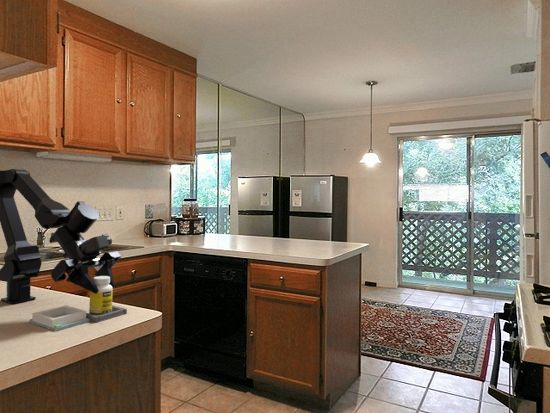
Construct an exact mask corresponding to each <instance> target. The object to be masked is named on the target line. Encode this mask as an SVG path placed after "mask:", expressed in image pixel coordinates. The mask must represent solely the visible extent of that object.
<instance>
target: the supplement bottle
mask: <svg viewBox="0 0 550 413" xmlns="http://www.w3.org/2000/svg"><path fill="white" fill-rule="evenodd" d="M92 280H93V281H94V283H95V284H96V286H97V288H98V290H99V292H98V293H97V294H95V293H93V292H91V291H89V309H88V311H89V312H88V313H89V314H93V315H96V316H99V315H103V314H106V313H110V312H113V311H112V305H113V294H114V293H113V292H114V291H113V290H114V288H113V287H112V286H111V285H109V283H110V277H109V276H94V277H93V278H92Z"/></svg>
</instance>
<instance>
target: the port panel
mask: <svg viewBox="0 0 550 413" xmlns="http://www.w3.org/2000/svg"><path fill="white" fill-rule="evenodd" d="M86 313H87V310H84V309H80V308H77V307H74V306H70V305H66V304H65V305H60V306H57V307H53V308H48V309H45V310H40V311H37V312H36V311H35V312H32V313H31V314H32V316H31V317H32V318H30V319H29V320H28V322H29V323H31V324H34V325H37V326H39V327H42V328H45V329H48V330H50V331H54V332H58V331H61V330H64V329H65V330H66V329H68V328H71V327H75V326H79V325H82V324H86V323H88V322H90V320H89V319H87V318H86Z"/></svg>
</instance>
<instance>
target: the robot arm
mask: <svg viewBox="0 0 550 413" xmlns="http://www.w3.org/2000/svg"><path fill="white" fill-rule="evenodd" d="M17 191H18V192H19V193H20V195H22V196H23V198H24V199H25V201H27V202H28V203H29V205H30V206H31V208H32V209H34V218H35V219H36V221H37V222H38V224H39V226H40V227H41V228H42V229H46V230H50V229H55V231H54V232H51V233H50V237H49V239H48V240H49V244H55V243H58V244H59V246H60V247H61V249H62V250H63V255H62V257H63V258H64V259H60V260H59V262H58V263H57V264H56V265H55V266H54V268H52V270H50V271H51V272H50V277H51V278H52V280H53V281H54V283H57V282H63V281H66V282H67V283H72V284H74V285H76V286H79V287H81V288H83V289H84V290H87V291H89V292H90V291H91V292H93V293H95V294H97V293H98V292H99V290H98V288H97V286H96V284H95V283H94V281H93V278H92V277H91V275H90V274H89V269H91V268H94V269H95V270H96V271H97V272H95V274H94V275H95V277H97V276H109V277H110V283H109V285H111V286H112V287H113V289H115V287H116V284H115V279H114V276H113V270H112V268H114V266H115V265H116V264H117V262H118V261H119V260H120V259H122V255H121V254H120V253H119V251H117V250H112V251H111V250H110V251H105V252H104V253H103V254H102V252H101V251H103V250H105V249H108V248H110V247H111V245H112V243H113V241H112V240H113V239H112V238H111V237H110V235H109V234H108V233H102V234H101V235H99V236H98V235H97V236H94V237H91V238H89V239H85V238H84V237H83V235H82V234H85V233H87V232H88V231H89V230H90V229H91V227H92V226H93V225H94V223H96V221H97V220H99V217H100V214H99V213H100V212H99V210H98V209H96V208H95V207H93V206H91V205H90V204H87V203H86V202H85V201H83V200H82V201H80V200H78V201H76V203H75V204H74V206H73V208H72V209H71V210H70V209H69V208H68V207H67V206H65V205H64V204H62V203H61V202H58V201H56V200H54V199H53V198H51V197H50V196H49V195H48V193H46V192H45V191H44V189H43V188H42V187H41V186H40V185H39V184H38V183H37V181H35V180H34V179H33V177H32V176H31V173H30V172H29V170H27V169H19V168H18V169H17V168H10V169H6V170H0V226H1V227H0V228H1V229H2V234H3V236H4V240H5V243H6V246H7V249H6V251H5V253H4V256H3V261H4V265H3V266H2V267H1V268H0V282H4V283H5V282H6V297H2V298H0V301H2V302H4V303H9V304H11V305H13V304H17V303H23V302H28V301H33V300H36V299H37V298H36V296H32V295H31V279H32V278H38V276H39V273H40V270H41V267H42V258H43V257H42V255H41V253H40V250H39V247H38V245H37V244H35V245H34V244H33V245H32V244H31V243H29V240H28V239H27V236H26V235H27V234H26V232H25V228H24V225H23V222H22V220H21V216H20V212H19V210H18V207H17V203H16V200H15V194H16V192H17ZM101 254H102V255H101ZM100 255H101V256H100ZM98 256H100V257H98ZM97 257H98V258H97ZM66 274H67V275H66ZM67 276H68V277H67ZM66 278H67V279H66Z"/></svg>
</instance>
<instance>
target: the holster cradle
mask: <svg viewBox="0 0 550 413" xmlns="http://www.w3.org/2000/svg"><path fill="white" fill-rule="evenodd" d="M127 313H128V310H127V308H124V307H120V306H116V305H113V304H112V312H110V313H106V314H103V315H99V316H96V315H93V314H89V312H86V318H87V319H89V322H90V321H91V322H93V323H100V322H102V321H106V320H110V319H112V318H117V317H119V316H123V315H127Z"/></svg>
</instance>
